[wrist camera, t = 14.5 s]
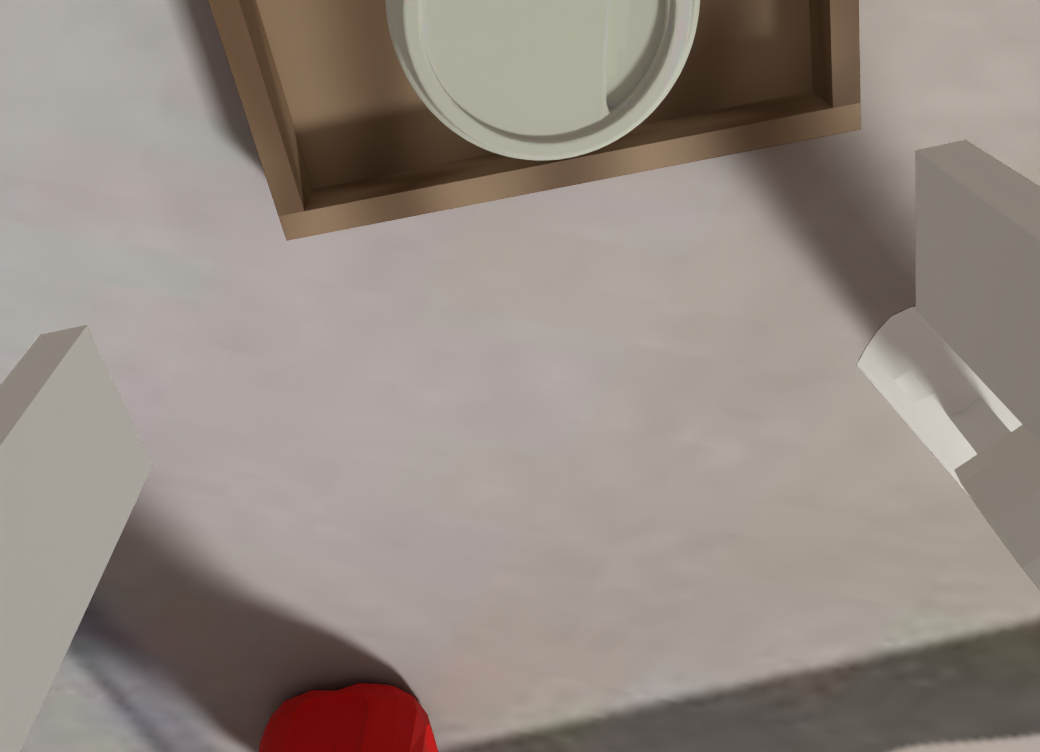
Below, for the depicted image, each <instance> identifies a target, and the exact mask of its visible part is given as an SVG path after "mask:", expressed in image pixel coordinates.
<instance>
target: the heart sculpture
mask: <svg viewBox="0 0 1040 752" xmlns="http://www.w3.org/2000/svg"><path fill="white" fill-rule="evenodd" d="M857 366H858V367H859V368H860V369H861V370H862V372H863V373H864V374H865V375H866V376H867V377H868V379H869V380H870V381H871V382H872V383H873V384H874V386H875V387H876V388H877V389H878V390H879V391H880V393H881V394H882V395H883V396H884V397H885V398H886V400H887V401H888V402H889V403H890V404H891V405H892V407H893V408H894V409H895V410H896V411H897V412H898V414H899V415H900V416H901V417H902V418H903V419H904V421H905V422H906V423H907V424H908V425H909V426H910V428H911V429H912V430H913V431H914V432H915V433H916V435H917V436H918V437H919V438H920V439H921V440H922V442H923V443H924V444H925V445H926V446H927V447H928V449H929V450H930V451H931V452H932V453H933V454H934V456H935V457H936V458H937V459H938V460H939V461H940V462H941V464H942V465H943V466H944V467H945V468H946V469H947V471H948V472H949V473H950V474H951V475H952V476H953V478H954V479H955V480H956V481H957V482H958V483H959V485H960V486H961V487H962V488H963V489H964V490H965V492H966V493H967V494H968V495H969V496H970V497H971V499H972V500H973V501H974V503H975V504H976V506H977V507H978V509H979V510H980V511H981V513H982V514H983V516H984V517H985V519H986V520H987V522H988V523H989V524H990V526H991V527H992V528H993V530H994V531H995V532H996V534H997V535H998V536H999V538H1000V539H1001V541H1002V542H1003V543H1004V545H1005V546H1006V547H1007V549H1008V550H1009V551H1010V553H1011V554H1012V555H1013V557H1014V558H1015V559H1016V561H1017V562H1018V564H1019V565H1020V566H1021V568H1022V569H1023V570H1024V571H1025V573H1026V574H1027V575H1028V576H1029V578H1030V579H1031V580H1032V581H1033V583H1034V584H1035V585H1036V587H1037V588H1038V589H1039V590H1040V442H1039V441H1038V440H1037V439H1036V438H1035V437H1034V436H1033V435H1032V434H1031V433H1030V432H1029V431H1028V430H1027V428H1026V427H1025V426H1024V425H1023V424H1022V423H1021V422H1020V421H1019V420H1018V419H1017V418H1016V417H1015V416H1014V415H1013V414H1012V412H1011V411H1010V410H1009V409H1008V408H1007V407H1006V406H1005V405H1004V404H1003V403H1002V402H1001V401H1000V400H999V399H998V398H997V396H996V395H995V394H994V393H993V392H992V391H991V390H990V389H989V388H988V387H987V386H986V385H985V384H984V383H983V382H982V380H981V379H980V378H979V377H978V376H977V375H976V374H975V373H974V372H973V371H972V370H971V369H970V368H969V367H968V366H967V365H966V363H965V362H964V361H963V360H962V359H961V358H960V357H959V356H958V355H957V354H956V353H955V352H954V351H953V350H952V349H951V347H950V346H949V345H948V344H947V343H946V342H945V341H944V340H943V339H942V338H941V337H940V336H939V335H938V334H937V333H936V331H935V330H934V329H933V328H932V327H931V326H930V325H929V324H928V323H927V322H926V321H925V320H924V319H923V318H922V317H921V315H920V314H919V313H918V312H917V311H916V306H914V307H910V308H908V309H906V310H904V311H902V312H899V313H897V314H895V315H893V316H891V317H890V318H889V319H888V320H887V321H886V322H885V323H884V324H883V326H882V327H881V328H880V329H879V330H878V331H877V332H876V334H875V335H874V337H873V338H872V340H871V341H870V343H869V344H868V346H867V347H866V349H865V351H864V352H863V354H862V356H861V358H860V360H859V361H858V363H857Z"/></svg>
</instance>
